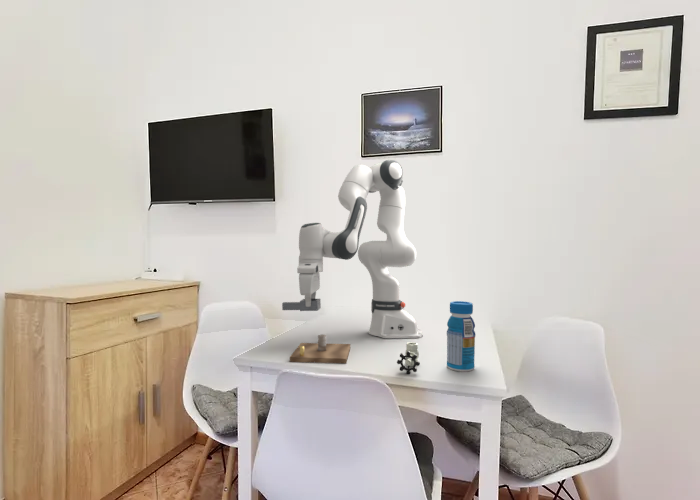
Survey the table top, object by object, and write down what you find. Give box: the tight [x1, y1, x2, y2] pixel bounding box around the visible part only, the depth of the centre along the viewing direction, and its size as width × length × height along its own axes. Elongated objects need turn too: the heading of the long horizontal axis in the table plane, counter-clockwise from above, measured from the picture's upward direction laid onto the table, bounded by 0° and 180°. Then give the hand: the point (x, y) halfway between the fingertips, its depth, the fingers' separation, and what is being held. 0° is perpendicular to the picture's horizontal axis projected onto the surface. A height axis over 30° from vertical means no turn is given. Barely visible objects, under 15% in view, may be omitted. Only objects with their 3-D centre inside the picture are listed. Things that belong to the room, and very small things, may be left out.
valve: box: [396, 341, 421, 375], centre depth 119 cm, size 7×7×12 cm
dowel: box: [300, 346, 304, 356], centre depth 126 cm, size 1×1×4 cm
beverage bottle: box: [446, 300, 476, 373], centre depth 119 cm, size 8×8×20 cm
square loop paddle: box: [281, 298, 322, 312], centre depth 144 cm, size 13×6×4 cm, turn 85°
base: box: [289, 334, 351, 364], centre depth 133 cm, size 18×18×6 cm
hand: (310, 304), depth 144 cm, fingers closed on square loop paddle, 6 cm apart
